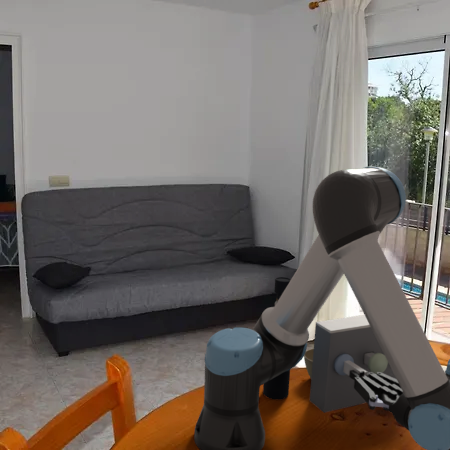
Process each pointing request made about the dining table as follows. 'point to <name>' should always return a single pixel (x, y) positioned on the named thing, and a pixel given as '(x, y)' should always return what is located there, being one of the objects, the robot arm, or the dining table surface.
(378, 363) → the sage button
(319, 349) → the control panel
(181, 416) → the dining table surface
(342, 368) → the slate button
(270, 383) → the wine bottle
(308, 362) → the flower pot
